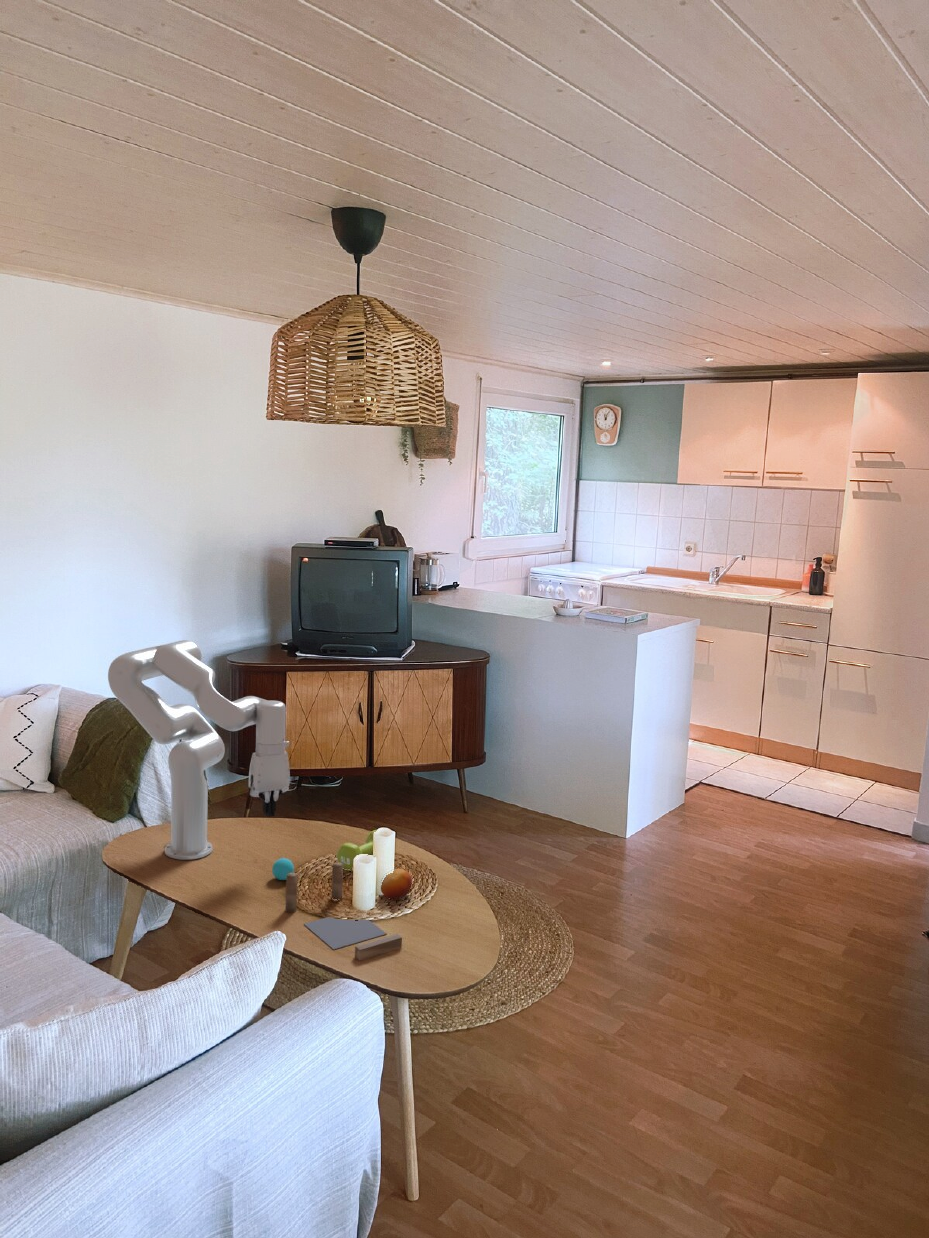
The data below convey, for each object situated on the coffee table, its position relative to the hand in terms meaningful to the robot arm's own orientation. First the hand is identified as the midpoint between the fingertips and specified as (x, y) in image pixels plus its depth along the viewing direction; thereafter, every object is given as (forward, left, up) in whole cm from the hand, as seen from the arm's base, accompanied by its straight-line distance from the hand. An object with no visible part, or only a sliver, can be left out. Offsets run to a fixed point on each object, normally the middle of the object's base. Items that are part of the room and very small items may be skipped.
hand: (269, 814), depth 246 cm
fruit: (+32, +20, -15) cm, 41 cm away
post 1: (+26, -6, -14) cm, 31 cm away
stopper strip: (+54, +1, -14) cm, 56 cm away
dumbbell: (+10, +24, -15) cm, 30 cm away
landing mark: (+41, 0, -14) cm, 44 cm away
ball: (+9, 0, -12) cm, 15 cm away
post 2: (+26, +6, -14) cm, 31 cm away
